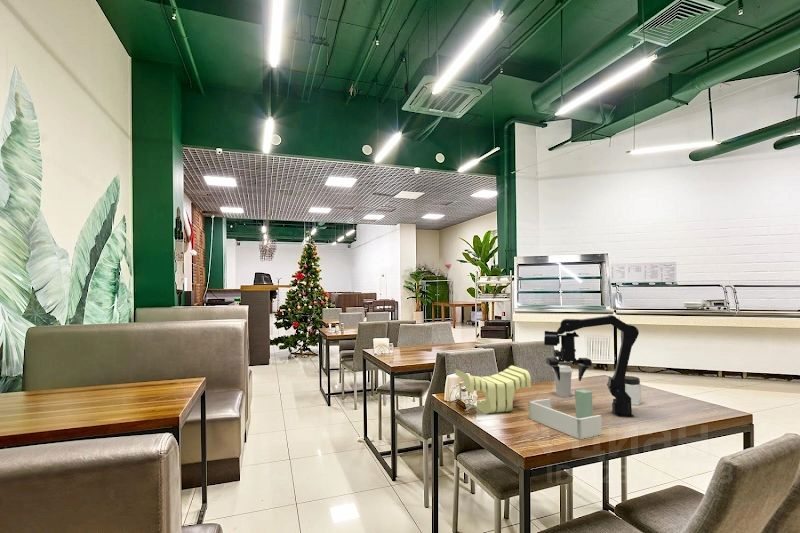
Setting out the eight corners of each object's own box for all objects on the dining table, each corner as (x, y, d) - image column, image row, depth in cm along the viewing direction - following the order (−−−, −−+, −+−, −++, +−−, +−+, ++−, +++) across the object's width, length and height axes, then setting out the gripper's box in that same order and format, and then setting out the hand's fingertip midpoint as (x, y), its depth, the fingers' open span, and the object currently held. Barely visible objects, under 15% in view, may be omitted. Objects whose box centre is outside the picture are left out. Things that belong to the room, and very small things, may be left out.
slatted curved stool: (470, 417, 164) (470, 375, 165) (456, 406, 179) (455, 368, 180) (531, 411, 171) (530, 371, 173) (512, 401, 187) (511, 365, 188)
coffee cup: (564, 399, 190) (562, 368, 192) (549, 394, 199) (548, 365, 200) (577, 397, 194) (576, 367, 195) (563, 392, 203) (562, 364, 204)
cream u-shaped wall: (549, 414, 166) (549, 398, 167) (602, 434, 142) (601, 415, 143) (529, 418, 162) (528, 401, 162) (580, 439, 138) (579, 419, 138)
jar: (645, 404, 180) (644, 379, 181) (631, 406, 178) (630, 380, 179) (630, 399, 189) (629, 375, 190) (616, 400, 187) (615, 376, 188)
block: (584, 419, 160) (582, 389, 161) (593, 422, 155) (591, 391, 156) (576, 421, 158) (574, 390, 159) (585, 424, 154) (584, 392, 155)
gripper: (581, 344, 183) (583, 377, 182) (542, 344, 184) (543, 376, 183) (591, 347, 172) (593, 382, 170) (549, 347, 173) (550, 382, 172)
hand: (569, 380), depth 174 cm, fingers open, 9 cm apart
